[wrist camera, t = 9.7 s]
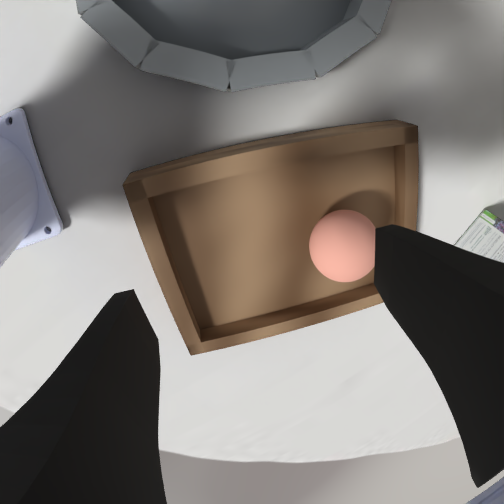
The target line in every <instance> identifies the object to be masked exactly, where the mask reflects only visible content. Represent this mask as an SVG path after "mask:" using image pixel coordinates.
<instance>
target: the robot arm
mask: <svg viewBox="0 0 504 504" xmlns="http://www.w3.org/2000/svg"><path fill="white" fill-rule="evenodd" d="M10 117H12V119H13V122H12V124H10V123H9V118H10ZM46 226H48V227H50V228H51V231H48V230H47V228H46ZM62 230H63V223H62V221H61V218H60V216H59V213H58V211H57V209H56V206H55V203H54V201H53V198H52V196H51V193H50V190H49V188H48V185H47V182H46V179H45V177H44V174H43V171H42V168H41V165H40V162H39V159H38V156H37V153H36V150H35V146H34V143H33V140H32V136H31V133H30V130H29V126H28V122H27V119H26V115H25V112H24V110H23V109H21V108H17V109H14V110H12V111H10V112H8V113H7V114H5V115H3V116H1V117H0V267H1V266H2V265H3V264H4V262H5V261H6V260H7V259H8V257H9V256H10V255H11V254H12V252H13V251H14V250H17V249H20V248H22V247H25V246H28V245H31V244H33V243H36V242H39V241H42V240H45V239H48V238H51V237H53V236H56V235H58V234H60V233H61V231H62ZM374 285H375V287H376V289H377V290H378V292H379V294H380V296H381V298H382V300H383V301H384V303H385V305H386V307H387V308H388V310H389V311H390V313H391V314H392V315H393V317H394V318H395V320H396V321H397V322H398V324H399V325H400V326H401V328H402V329H403V330H404V332H405V333H406V335H407V336H408V337H409V339H410V340H411V341H412V343H413V344H414V346H415V347H416V348H417V350H418V351H419V353H420V354H421V355H422V357H423V358H424V360H425V361H426V363H427V364H428V366H429V368H430V369H431V371H432V373H433V375H434V377H435V379H436V381H437V383H438V385H439V386H440V388H441V390H442V392H443V395H444V397H445V399H446V401H447V403H448V406H449V408H450V410H451V413H452V415H453V417H454V420H455V423H456V425H457V428H458V431H459V434H460V436H461V439H462V442H463V445H464V449H465V452H466V456H467V459H468V463H469V467H470V472H471V477H472V479H473V481H474V483H475V485H476V486H477V487H478V488H479V487H480V486H482V485H483V484H485V483H486V482H487V481H489V480H490V479H492V478H493V477H494V476H496V475H497V474H498V473H500V472H501V471H502V470H504V263H503V262H500V261H496V260H493V259H490V258H487V257H484V256H481V255H478V254H475V253H473V252H470V251H467V250H464V249H461V248H459V247H456V246H454V245H451V244H448V243H446V242H443V241H440V240H438V239H435V238H433V237H430V236H427V235H425V234H422V233H419V232H417V231H414V230H411V229H408V228H405V227H402V226H398V225H394V224H391V225H387V226H383V227H379V228H375V266H374ZM159 391H160V355H159V342H158V338H157V336H156V334H155V332H154V330H153V328H152V326H151V324H150V322H149V320H148V318H147V316H146V314H145V312H144V310H143V308H142V306H141V304H140V302H139V300H138V298H137V296H136V294H135V291H134V289H132V290H128V291H124V292H120V293H116V294H114V295H113V296H112V297H111V298H110V299H109V301H108V302H107V303H106V304H105V306H104V307H103V308H102V310H101V311H100V312H99V313H98V315H97V316H96V317H95V319H94V320H93V321H92V323H91V324H90V325H89V327H88V328H87V330H86V331H85V332H84V334H83V335H82V336H81V338H80V339H79V340H78V342H77V343H76V344H75V346H74V347H73V348H72V349H71V351H70V352H69V353H68V354H67V356H66V357H65V358H64V360H63V361H62V362H61V364H60V365H59V366H58V367H57V369H56V370H55V371H54V372H53V374H52V375H51V376H50V377H49V378H48V379H47V381H46V382H45V383H44V384H43V385H42V386H41V387H40V388H39V390H38V391H37V392H36V393H35V394H34V395H33V396H32V397H31V398H30V399H29V400H28V401H27V402H26V403H25V404H24V405H23V406H22V407H21V408H20V409H19V410H18V411H17V412H16V413H15V414H14V415H13V416H12V417H11V418H10V419H9V420H8V421H7V422H6V423H5V424H4V425H2V426H1V427H0V504H167V502H166V497H165V491H164V485H163V480H162V473H161V465H160V457H159V448H158V416H159ZM466 504H504V477H503V478H501V479H500V480H499V481H498V482H496V483H495V484H493V485H492V486H491V487H489V488H488V489H487V490H485V491H484V492H482V493H481V494H479V495H478V496H476V497H475V498H473V499H472V500H470V501H469V502H467V503H466Z"/></svg>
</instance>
